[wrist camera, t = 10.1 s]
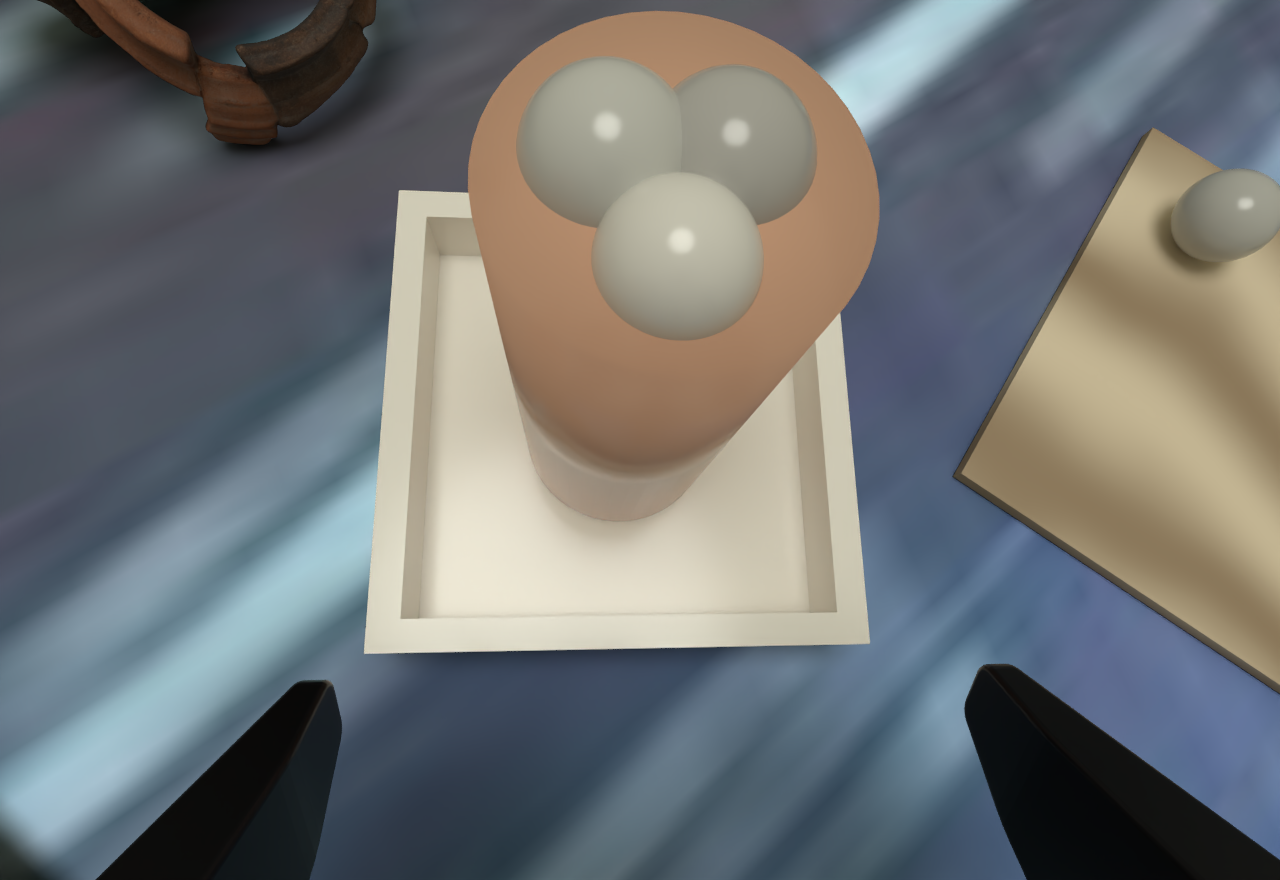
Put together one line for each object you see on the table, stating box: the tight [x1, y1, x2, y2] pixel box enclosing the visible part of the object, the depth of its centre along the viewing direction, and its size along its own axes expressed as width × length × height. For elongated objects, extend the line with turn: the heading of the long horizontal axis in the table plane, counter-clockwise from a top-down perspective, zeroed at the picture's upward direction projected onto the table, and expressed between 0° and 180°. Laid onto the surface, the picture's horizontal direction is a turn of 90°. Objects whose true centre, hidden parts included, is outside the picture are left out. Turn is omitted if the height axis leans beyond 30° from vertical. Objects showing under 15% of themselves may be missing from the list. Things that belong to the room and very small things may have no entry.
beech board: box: [953, 128, 1280, 693], centre depth 24 cm, size 16×12×1 cm
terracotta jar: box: [468, 11, 879, 521], centre depth 15 cm, size 5×5×14 cm
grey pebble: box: [1171, 169, 1280, 262], centre depth 24 cm, size 3×3×3 cm
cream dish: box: [364, 190, 870, 654], centre depth 21 cm, size 13×13×3 cm
